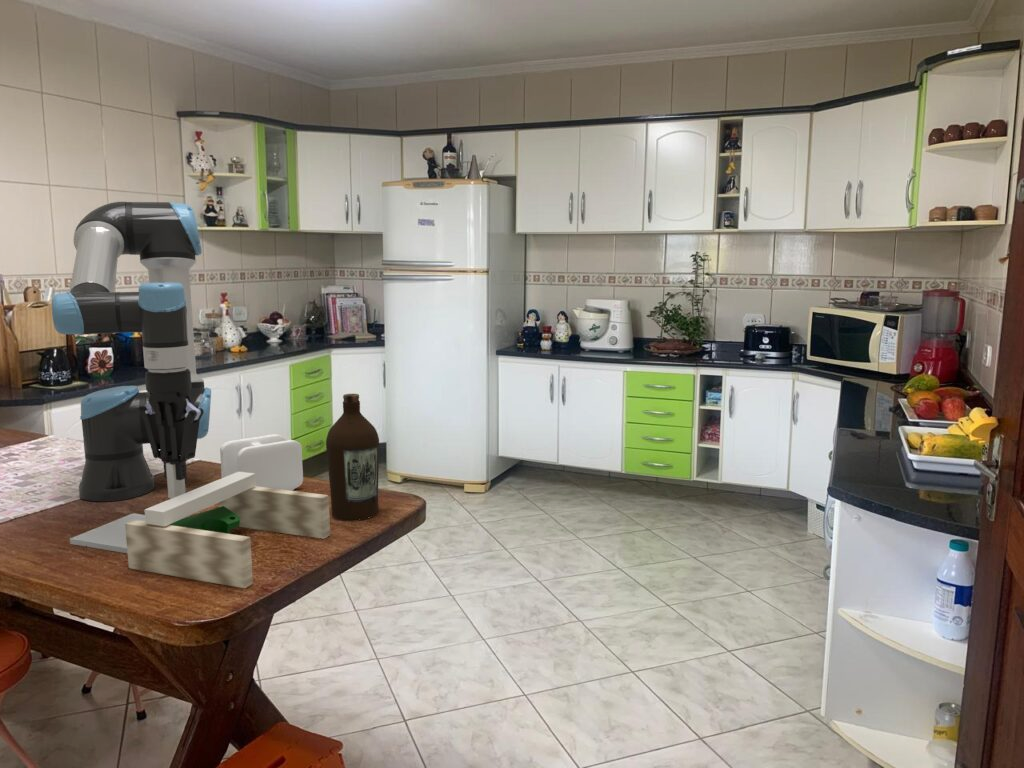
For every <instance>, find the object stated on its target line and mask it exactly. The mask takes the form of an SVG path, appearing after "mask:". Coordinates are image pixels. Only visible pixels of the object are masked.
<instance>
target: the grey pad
mask: <svg viewBox="0 0 1024 768" xmlns="http://www.w3.org/2000/svg"><path fill="white" fill-rule="evenodd" d="M133 520H139V521H145V514H140V513H134V512H133V513H130V514H128V515H125V516H123V517H120V518H118V519H115V520H113V521H110V522H108V523H105V524H103V525H100V526H99V527H98V526H97V527H96V528H93V529H91V530H87V531H86V532H83V533H80V534H77V535H75V536H73V537H70V538H69V544H70V545H76V546H80V547H86V546H87V547H86V548H92V549H97V550H98V549H99V550H104V551H105V550H106V551H110V552H116V553H122V554H128V553H127V541H126V530H125V523H128V522H130V521H133Z"/></svg>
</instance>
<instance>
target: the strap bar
mask: <svg viewBox="0 0 1024 768" xmlns="http://www.w3.org/2000/svg"><path fill="white" fill-rule="evenodd" d="M255 486H256V474H255V473H247V472H236V473H234V474H231V475H229V476H226V477H224V478H222V477H221V478H219V479H217V480H214V481H212V482H209V483H206V484H204V485H202V486H199V487H197V488H195V489H192V490H190V491H187V492H186V493H184V494H182V495H179V496H177V497H174V498H169V499H167V500H165V501H162V502H160V503H157V504H154V505H152V506H150V507H148V508H145V509H144V515H145V522H146V524H151V525H157V526H164V527H165V526H167V525H169V524H171V523H174V522H176V521H178V520H180V519H183V518H186V517H189V516H193V515H195V514H197V513H198V512H201V511H203V510H205V509H207V508H210V507H212V506H214V505H216V504H219V502H221V501H223V500H226V499H228V498H230V497H232V496H235V495H237V494H239V493H241V492H244V491H246V490H248V489H250V488H253V487H255Z"/></svg>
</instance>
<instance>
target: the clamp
mask: <svg viewBox="0 0 1024 768" xmlns="http://www.w3.org/2000/svg"><path fill="white" fill-rule="evenodd" d="M239 524H240V517H239V516H238V515H236V514H235V513H233V512H232V511H230V510H229V509H227V508H226V507H224V506H222V507H219V506H218V507H216V508H212V509H209V510H206V511H202V512H200V513H195V514H192V515H190V516H187V517H185V518H183V519H180V520H178V521H176V522H174V523H171V524H169V525H173V526H179V527H186V528H193V529H200V530H206V531H213V532H220V533H227V534H231V532H230V531H231V530H234V529H237V528H240V527H239Z"/></svg>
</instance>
